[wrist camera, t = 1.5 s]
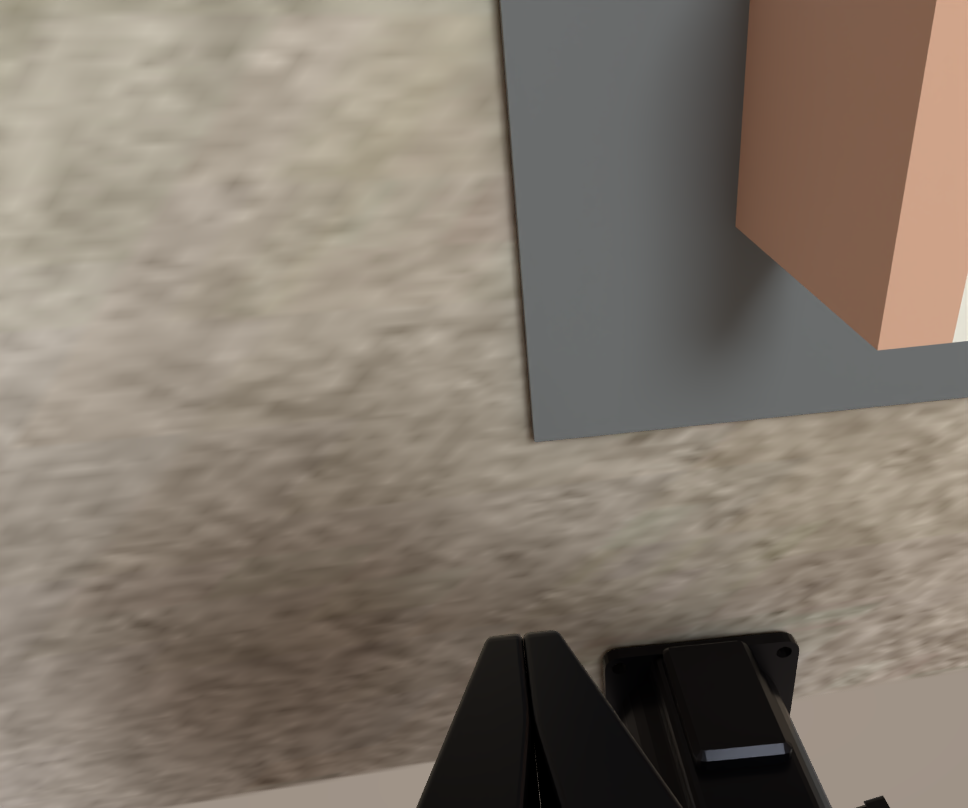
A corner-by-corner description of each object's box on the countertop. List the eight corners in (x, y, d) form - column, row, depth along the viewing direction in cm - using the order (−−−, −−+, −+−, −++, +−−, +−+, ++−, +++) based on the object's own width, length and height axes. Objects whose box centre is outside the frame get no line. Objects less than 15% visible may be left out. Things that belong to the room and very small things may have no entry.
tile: (802, 219, 18) (977, 339, 12) (735, 226, 18) (877, 350, 12) (839, -134, 15) (1108, -210, 9) (757, -125, 15) (968, -194, 9)
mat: (1173, 364, 21) (1191, 373, 21) (532, 430, 22) (534, 442, 21) (1544, -609, 13) (1592, -634, 12) (462, -478, 13) (461, -498, 12)
